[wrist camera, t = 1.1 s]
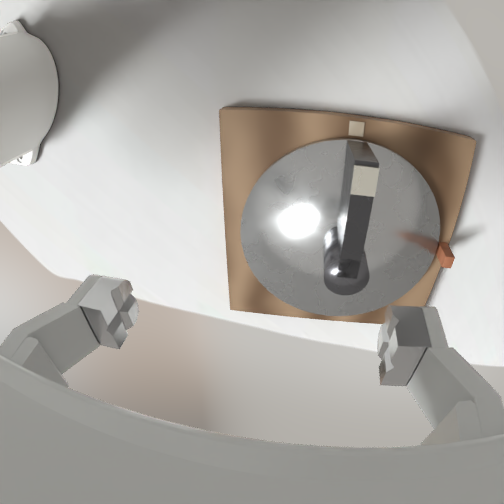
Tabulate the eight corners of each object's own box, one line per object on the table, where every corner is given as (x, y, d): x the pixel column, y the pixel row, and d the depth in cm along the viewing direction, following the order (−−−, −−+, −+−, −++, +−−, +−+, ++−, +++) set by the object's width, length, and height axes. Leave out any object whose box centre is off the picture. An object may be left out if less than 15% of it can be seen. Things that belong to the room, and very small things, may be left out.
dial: (407, 316, 33) (416, 358, 28) (244, 302, 35) (232, 343, 30) (458, 156, 22) (489, 184, 17) (239, 130, 25) (220, 151, 20)
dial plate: (233, 300, 38) (225, 325, 35) (223, 107, 25) (210, 115, 22) (413, 316, 35) (419, 341, 31) (469, 136, 22) (489, 149, 19)
